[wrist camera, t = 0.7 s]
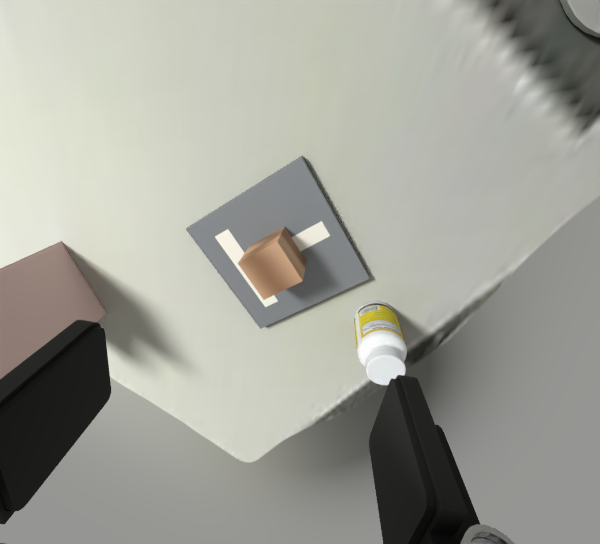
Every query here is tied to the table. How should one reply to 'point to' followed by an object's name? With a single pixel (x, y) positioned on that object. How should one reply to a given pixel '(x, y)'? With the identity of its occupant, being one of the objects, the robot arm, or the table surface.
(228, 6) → the table surface
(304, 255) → the letter pad
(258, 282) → the covering block
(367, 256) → the table surface
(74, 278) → the greeting card
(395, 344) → the supplement bottle
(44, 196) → the table surface
